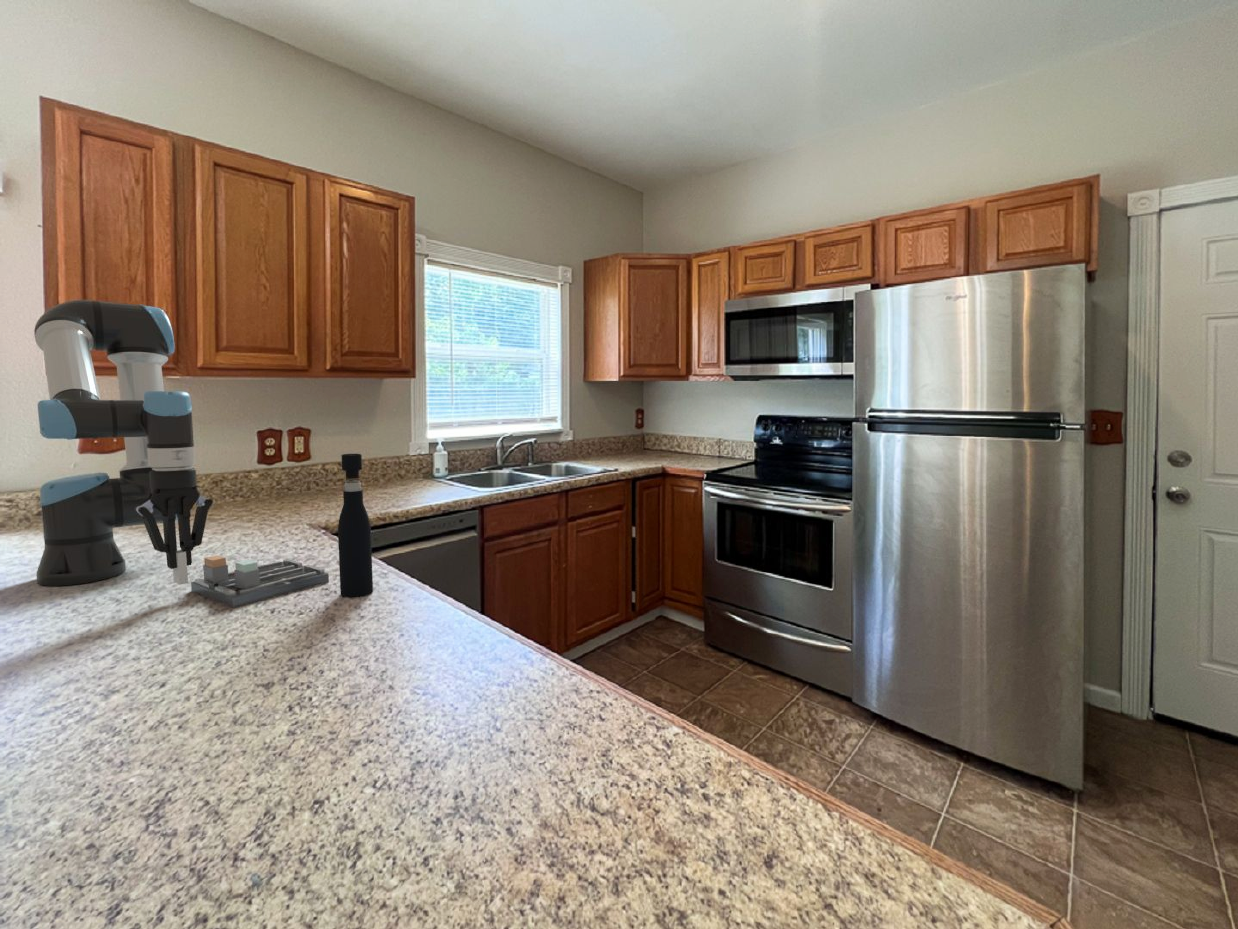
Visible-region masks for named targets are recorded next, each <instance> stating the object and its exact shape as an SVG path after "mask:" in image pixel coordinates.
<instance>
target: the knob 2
mask: <svg viewBox="0 0 1238 929" xmlns="http://www.w3.org/2000/svg"><path fill="white" fill-rule="evenodd" d="M234 564H235V565H234V566H235V569H234V571H233V572H234V574H235V587H237V588H240V589H247V588H251V587H255V586H259V585H260V573H259V569H258V566H259V564H258V561H255V560H251V559H245V560H241V561H235V562H234Z"/></svg>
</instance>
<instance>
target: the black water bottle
mask: <svg viewBox="0 0 1238 929" xmlns="http://www.w3.org/2000/svg"><path fill="white" fill-rule="evenodd" d="M362 456H363V455H362V453H343V454H341V456H340V457H341V470H342V471H344V472H345V480H346V481H345V482H344V484H343V486H344V488H343V489H344V490H343V491H342V492H343V493H342V494H343V506H342V508H341V511H340V515H339V518H338V525H337V541H338V542H337V543H338V561H339V562H338V564H339V566H338V567H339V587H340V589H339V590H340V596H341V597H343V598H346V599H356V598H362V597H366V596H367V597H368V596H369V595H371V594H372V593H373V592H374V583H373V581H374V579H373V554H372V552H373V551H372V527H371V523H370V518H369V515H368V512H367V510H366V506H365V504H364V494H363V493H364V492H363V490H362V483H361V481H359V480H360V474H359V473H360V472H359V471H361V470H363V462H362V460H363V458H362Z"/></svg>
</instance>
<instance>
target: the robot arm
mask: <svg viewBox="0 0 1238 929" xmlns="http://www.w3.org/2000/svg"><path fill="white" fill-rule="evenodd" d="M38 318H39V319H38V320H37V321H36V323H35V326H34V330H33V331H34V341H35V343H36V345H37V347H38V348H39V349H40V350H41V351H42V353H43V360H44V367H45V375H46V381H47V389H48V395H49V399H42V400H39V401H38V402H37V413H38V424H39V433H40V435H41V436H42V437H43V438H45V439H50V440H51V439H52V440H53V439H58V440H60V439H61V440H78V439H79V440H80V439H81V440H83V439H103V438H104V439H105V438H124V439H123V440H124V447H125V448H124V450H125V458H126V459H125V460H126V462H125V464H124V465H123V466H122V467H121V468H120V469H119V471H118V472H119V477H117V478H110V476H109V474H108V473H106V472H95V473H84V474H77V475H71V476H65V477H61V478H57V479H52V480H50V481H47V482H45V483H43V485H41V487H40V488H39V494H40V495H39V496H40V497H39V498H40V499H39V500H40V501H39V504H38V505H39V507H41V508H40V509H41V519H42V531H43V539H44V540H43V542H44V550H43V553H42V555H41V558H40V560H39V561H40V562H39V564H38V567H37V570H36V574H35V575H36V583H37V584H38V585H40V586H45V587H46V586H47V587H49V586H51V587H57V586H58V587H59V586H60V587H61V586H72V585H81V584H89V583H93V582H98V581H103V580H106V579H110V578H114V577H117V576H119V575H121V574H123V573H125V572H126V571H127V565H126V560H125V558H124V556H123V554H122V552H121V551H120V549H119V547H118V545H117V543H116V541H115V539H114V528H115V529H116V528H122V527H123V528H125V527H131V526H132V527H134V526H142V525H144V527H145V529H146V531H147V535H148V537H149V539H150V541H151V544H152V546H153V549H154V550H155V551H157V552H160V553H165V554H166V565H167V568H169V569H171V570H172V576H173V583H175V584H178V585H184V584H188V583H189V577H188V575H189V574H188V566H191V565H192V563H193V560H192V551H193V550H194V548H195V547H200V546H201V545H202V542H203V538H204V532H205V527H206V523H207V519H208V518H207V517H208V512H209V510H210V508H211V506H212V505H213V503H214V500H213V499H212V498H207V497H205V496H203V495H201V492H200V491H199V489H198V487H197V486H198V485H197V484H198V482H197V479H198V478H197V469H196V468H194V466H195V465H196V456H195V455H196V454H195V443H194V430H193V429H194V428H193V425H194V424H193V410H194V409H193V406H192V401H191V396H190V393H188V392H187V391H180V390H179V391H178V390H175V391H174V390H173V391H170V390H169V391H168V390H167V391H165V388H164V381H163V380H164V379H163V370H162V369H163V368H162V367H163V366H164V365H165V364H166V363H167V362H168V361H169V356H170V355H173V354H174V353H175V349H176V345H175V341H174V340H175V338H174V332H173V328H172V325H171V322H170V319H169V317H168V315H167V313H166V312H165V311H164V310H163V309H161V308H159V307H156V306H149V305H144V304H140V303H138V304H132V303H130V304H129V303H121V302H111V301H100V300H92V299H91V300H90V299H73V300H69V301H68V300H67V301H64V302H62V303H59V304H56V305H55V306H53V307H51V308H49V309H48V310H47V311H45V312H44V313H43V314H42V315H41V316H40V317H38ZM91 351H97V352H98V351H101V352H106V354H107V360H108V361H110V362H111V363H112V364H114V365H115V366H116V372H117V382H118V391H119V400H116V399H114V400H113V399H112V400H111V399H109V400H108V399H101V395H100V390H99V386H98V382H97V377H96V372H95V368H94V363H93V359H92V354H91V353H92V352H91ZM194 505H196V510H195V515H194V519H193V524H192V529H191V517H192V516H191V510H193V507H194ZM176 521H177V525H178V527H177V528H178V539H179V541H178V542H179V548H180V549H178V546H177V545H178V543H177V530H176ZM159 523H160V524H162V526H163V527H162V528H163V535H162V533H161V531H160V528H159V526H158V524H159ZM162 536H163V537H162Z"/></svg>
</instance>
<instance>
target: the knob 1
mask: <svg viewBox="0 0 1238 929" xmlns="http://www.w3.org/2000/svg"><path fill="white" fill-rule="evenodd" d="M203 559H204V560H203V562H204V564H203V565H202V567H203V569H202V571H203V579H204V580H206V581H209V582H211V583H214V585H215V584H217V583H218V582H222V581H227V580H229V577H228V573H229V564H227V557H224V556H222V555H218V554H217V555H212V556H208V557H207V556H206V557H204V558H203Z"/></svg>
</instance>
